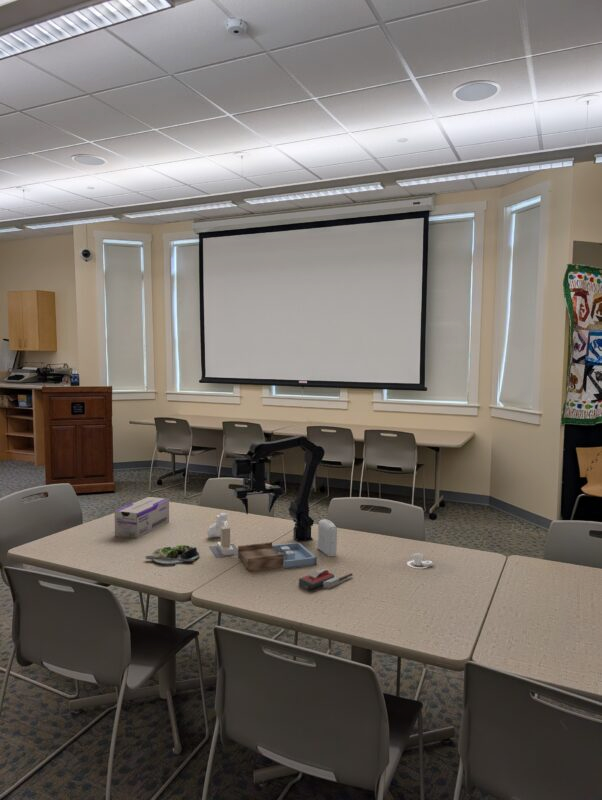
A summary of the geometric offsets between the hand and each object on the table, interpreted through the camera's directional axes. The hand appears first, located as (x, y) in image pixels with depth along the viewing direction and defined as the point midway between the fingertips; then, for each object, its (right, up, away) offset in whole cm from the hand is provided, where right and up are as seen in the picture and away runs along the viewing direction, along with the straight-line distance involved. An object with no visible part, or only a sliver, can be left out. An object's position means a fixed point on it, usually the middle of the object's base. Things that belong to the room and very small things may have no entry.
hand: (258, 513), depth 218 cm
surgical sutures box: (-52, -11, +21) cm, 57 cm away
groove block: (+2, -14, -17) cm, 23 cm away
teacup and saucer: (+60, -16, -21) cm, 66 cm away
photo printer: (+27, -14, -6) cm, 31 cm away
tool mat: (-12, -13, -7) cm, 19 cm away
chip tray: (+14, -14, -13) cm, 24 cm away
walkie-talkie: (+25, -16, -35) cm, 46 cm away
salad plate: (-29, -14, -14) cm, 35 cm away
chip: (+10, -12, -12) cm, 20 cm away
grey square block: (+12, -13, -17) cm, 24 cm away
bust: (-17, -12, +11) cm, 24 cm away
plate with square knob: (-12, -13, -7) cm, 19 cm away
